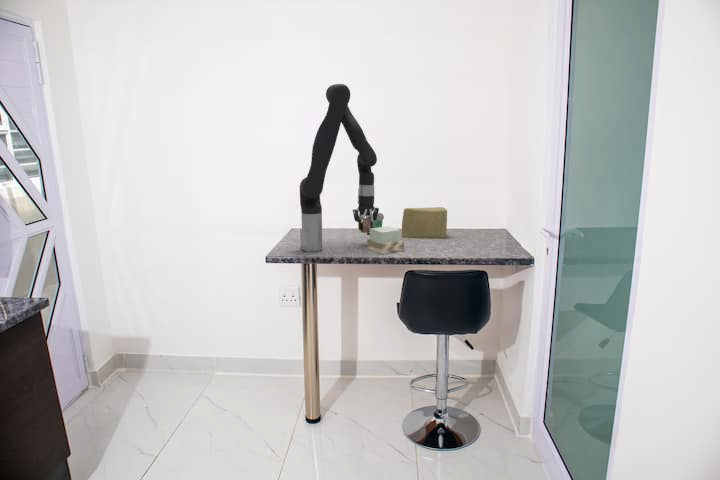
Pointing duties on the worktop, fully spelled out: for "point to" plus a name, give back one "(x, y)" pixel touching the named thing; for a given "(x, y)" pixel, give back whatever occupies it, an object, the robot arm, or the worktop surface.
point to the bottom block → (385, 246)
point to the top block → (384, 234)
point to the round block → (366, 225)
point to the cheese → (424, 222)
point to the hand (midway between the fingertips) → (365, 229)
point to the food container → (377, 221)
